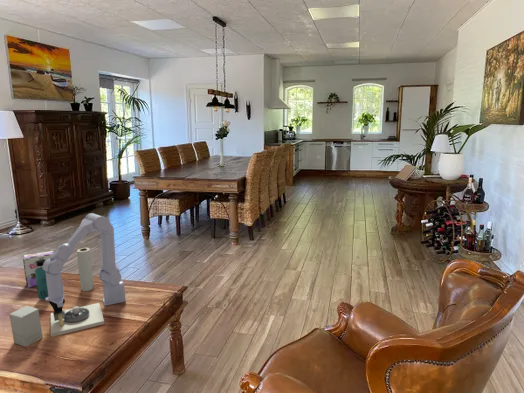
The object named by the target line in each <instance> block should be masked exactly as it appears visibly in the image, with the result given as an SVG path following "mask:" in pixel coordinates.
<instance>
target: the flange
mask: <svg viewBox="0 0 524 393" xmlns="http://www.w3.org/2000/svg"><path fill="white" fill-rule="evenodd" d="M64 310H65V309H62V310H61V311H57V312H54V311H53V312H52V313H53V314H54V320H55V321H57V320H59V317H58V315H59V314H62V318H63V319H64V321H66V322H69V323H73V322H79V321H82V320H84V319H86V318H87V317H88V316H89V310H88V309H86V308H79V314H77V315H74V314H73V310H70V311H68V312H67V313H65V311H64Z"/></svg>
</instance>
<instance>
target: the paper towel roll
mask: <svg viewBox="0 0 524 393" xmlns="http://www.w3.org/2000/svg"><path fill="white" fill-rule="evenodd" d="M76 254H77V255H76V258H77V265H78V272H79V273H78V274H79V282H80V290H81V291H82V292H88V291H89V292H90V291H91V290H94V288H95V286H94V283H95V282H94V274H93V266H92V254H91V248H90V247H87V246H84V247H82V248H79V249H77V250H76Z"/></svg>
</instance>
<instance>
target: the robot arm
mask: <svg viewBox="0 0 524 393" xmlns="http://www.w3.org/2000/svg"><path fill="white" fill-rule="evenodd" d="M96 231H98V232H99V233H100V234H101V235H100V236H101V252H102V253H101V254H102V265H101V266H100V272H99V274H98V278H99V280H101V281H102V282H101V283H102V289H103V290H102V291H103V297H102V302H103V305H104V306H105V307H106V306H111V305H115V304H119V303H124V302H126V291H125V290H126V289H125V284H124V281H123V280H122V274H121V273H120V269H119V267H118V265H117V264H116V247H115V229H114V227H113V224H112V223H111V222H110V219H109V218H108V217H106V216H103V215H99V214H96V213H94V212H91V213H88V214H86V216H85V217H84V218H83V219H82V220H81V223H80V225H79V226H78V228H77V229H76V230H75V231H74V233H73V234H72V235H71V237H70V238H69V239H68V241H67V242H64V243H61V244H60V245H58V247H57V249H56V251H54V254H53V255H52V256H51V257H50V258H49V259H47V260H46V261H45V262H44V263H43V266H42V269H43V270H44V271H45V273H46V281H47V289H48V296H49V297H47V298H45V299H44V300H45V301H46V302H48V303H49V305H50V306H51V307H52V309H53V312H57V311H61V310H63V309H64V305H65V302H66V300H65V292H64V286H63V285H64V283H63V277H62V272H63V270H64V265H65V263H66V262H67V261H68V260H69V258H70V257H71V256H72V255H73V253H74V252H75V247H76V246H77V245H78V244H79V243H80V242H81V240H82V239H83V238H84V237H85V236H86V235H88V234H90V233H95V232H96Z"/></svg>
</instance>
